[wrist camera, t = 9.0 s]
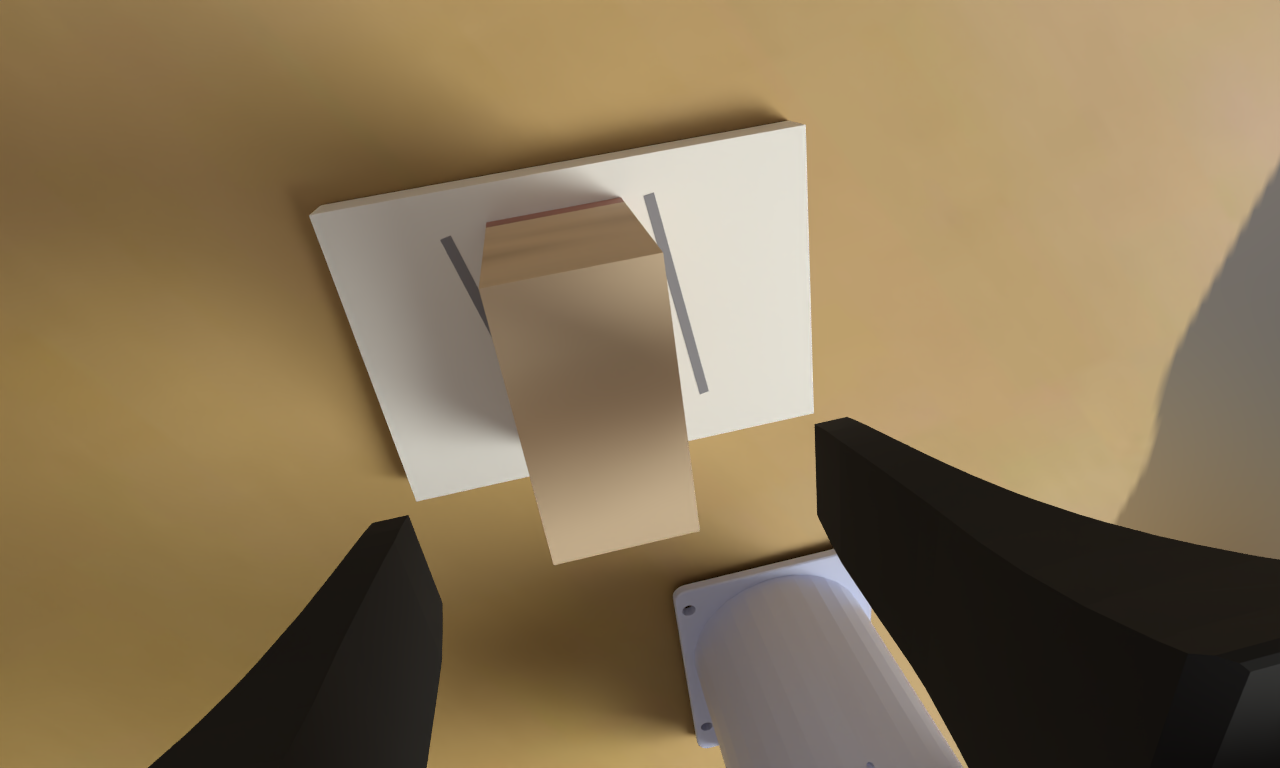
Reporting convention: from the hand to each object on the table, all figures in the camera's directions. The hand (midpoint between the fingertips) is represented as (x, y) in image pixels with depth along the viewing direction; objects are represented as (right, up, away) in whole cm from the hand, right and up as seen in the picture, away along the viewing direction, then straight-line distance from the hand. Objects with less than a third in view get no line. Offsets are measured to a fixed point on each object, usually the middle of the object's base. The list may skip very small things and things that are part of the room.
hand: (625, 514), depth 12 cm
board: (-1, +4, +9) cm, 10 cm away
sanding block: (-2, +4, +8) cm, 9 cm away
